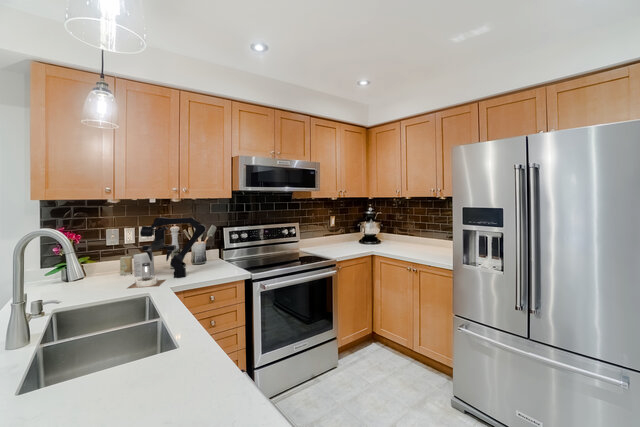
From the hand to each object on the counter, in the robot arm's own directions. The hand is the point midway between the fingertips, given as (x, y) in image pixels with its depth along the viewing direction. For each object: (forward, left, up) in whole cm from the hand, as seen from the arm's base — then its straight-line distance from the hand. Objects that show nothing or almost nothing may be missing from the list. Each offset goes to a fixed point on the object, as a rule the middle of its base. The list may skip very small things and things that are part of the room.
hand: (159, 261), depth 186 cm
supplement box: (+14, -15, -12) cm, 24 cm away
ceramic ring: (+4, +12, -11) cm, 17 cm away
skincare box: (+28, -23, -12) cm, 38 cm away
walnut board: (+3, +11, -12) cm, 17 cm away
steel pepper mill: (+4, +12, -11) cm, 17 cm away
